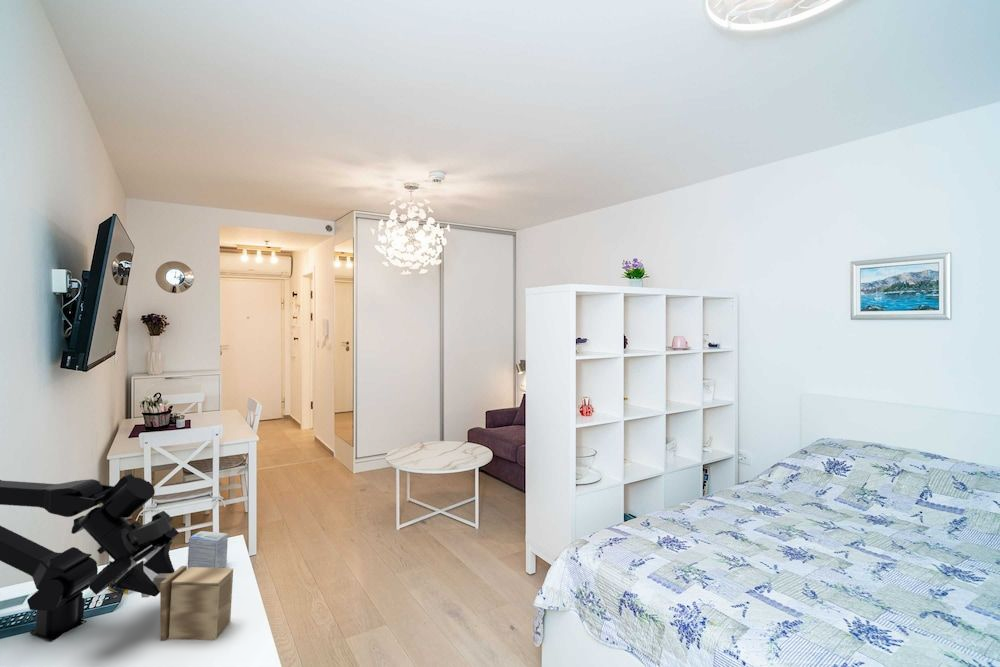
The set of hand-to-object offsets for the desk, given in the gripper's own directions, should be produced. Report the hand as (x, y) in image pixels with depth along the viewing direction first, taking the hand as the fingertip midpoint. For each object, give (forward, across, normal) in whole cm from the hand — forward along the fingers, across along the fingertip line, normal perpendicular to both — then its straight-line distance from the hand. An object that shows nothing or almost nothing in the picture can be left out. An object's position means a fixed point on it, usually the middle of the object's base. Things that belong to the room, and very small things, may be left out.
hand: (166, 587), depth 99 cm
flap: (+6, 0, +6) cm, 9 cm away
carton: (+12, 0, +2) cm, 12 cm away
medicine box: (+2, +26, +11) cm, 29 cm away
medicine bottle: (-6, +17, +19) cm, 26 cm away
